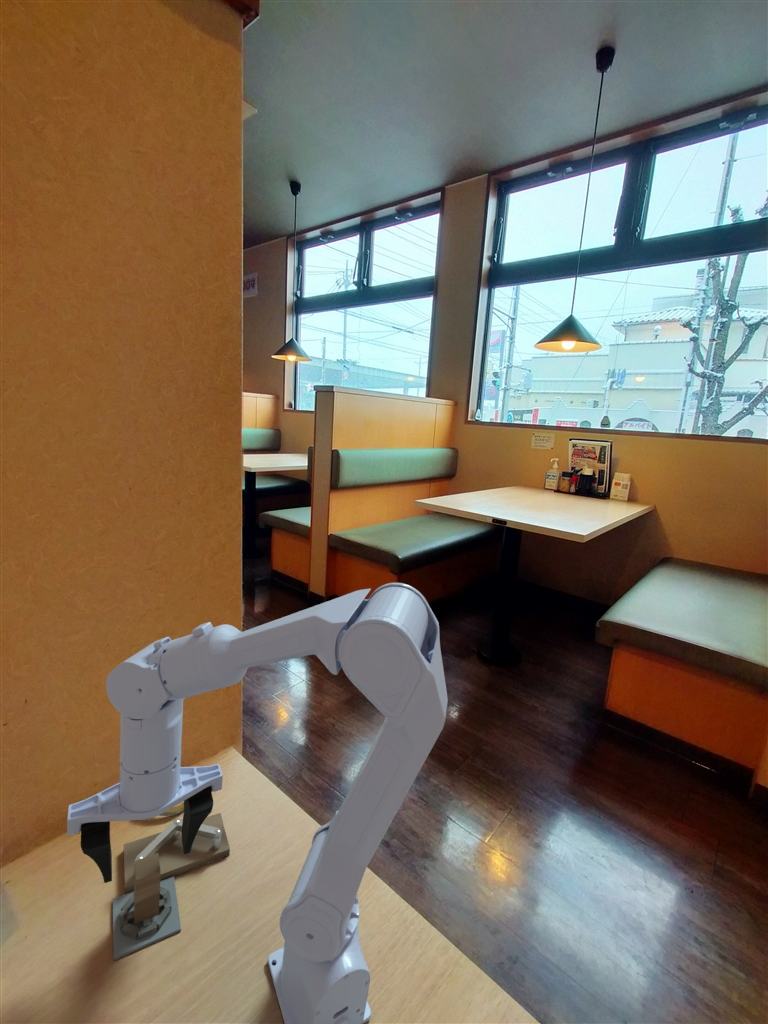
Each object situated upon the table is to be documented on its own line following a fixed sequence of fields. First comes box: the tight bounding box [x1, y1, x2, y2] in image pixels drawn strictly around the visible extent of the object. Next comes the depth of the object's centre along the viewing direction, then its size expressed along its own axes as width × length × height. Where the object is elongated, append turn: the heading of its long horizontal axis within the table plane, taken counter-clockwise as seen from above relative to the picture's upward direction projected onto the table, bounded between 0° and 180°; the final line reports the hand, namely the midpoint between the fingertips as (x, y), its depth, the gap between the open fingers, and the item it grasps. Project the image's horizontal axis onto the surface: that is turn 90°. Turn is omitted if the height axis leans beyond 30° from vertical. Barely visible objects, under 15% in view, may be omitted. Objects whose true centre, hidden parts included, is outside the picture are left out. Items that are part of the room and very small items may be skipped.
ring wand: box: [120, 853, 172, 940], centre depth 51 cm, size 5×5×7 cm
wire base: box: [123, 812, 231, 895], centre depth 59 cm, size 6×12×1 cm, turn 121°
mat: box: [112, 876, 182, 961], centre depth 52 cm, size 6×6×1 cm
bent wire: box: [134, 818, 222, 864], centre depth 59 cm, size 5×10×4 cm, turn 121°
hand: (148, 859), depth 50 cm, fingers open, 7 cm apart
